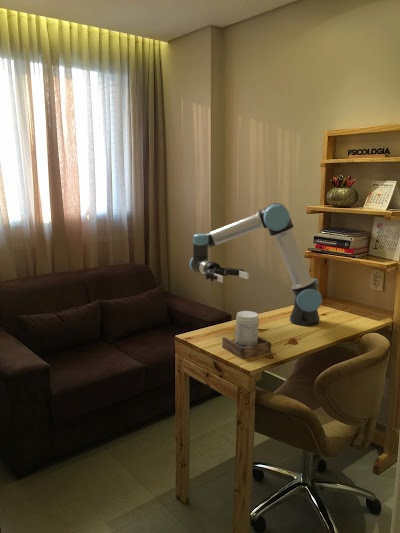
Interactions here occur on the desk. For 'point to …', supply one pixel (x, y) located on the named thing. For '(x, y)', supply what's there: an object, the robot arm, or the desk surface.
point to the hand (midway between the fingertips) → (235, 277)
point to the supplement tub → (246, 328)
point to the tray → (247, 348)
